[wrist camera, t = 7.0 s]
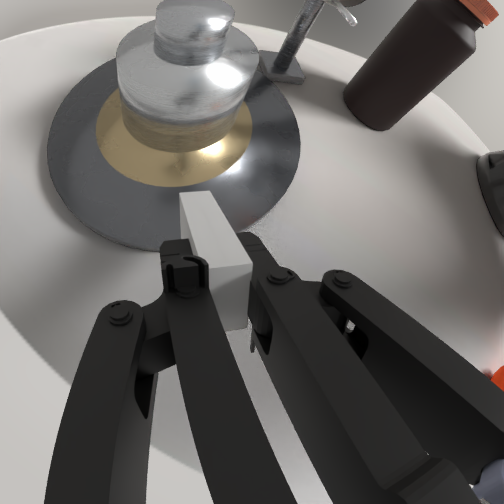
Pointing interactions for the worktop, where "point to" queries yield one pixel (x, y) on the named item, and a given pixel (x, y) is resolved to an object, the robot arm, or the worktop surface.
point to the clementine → (499, 378)
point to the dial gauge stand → (299, 41)
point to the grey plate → (167, 164)
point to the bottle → (415, 58)
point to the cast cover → (184, 75)
